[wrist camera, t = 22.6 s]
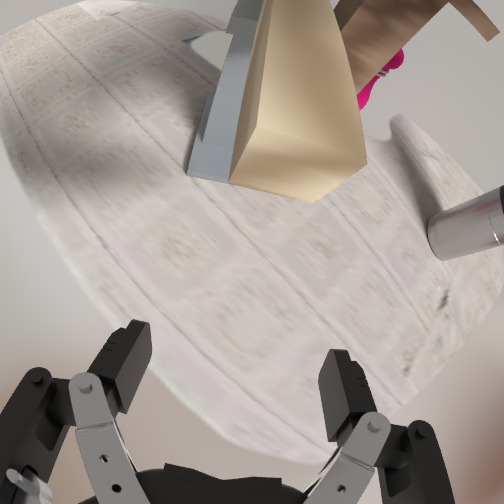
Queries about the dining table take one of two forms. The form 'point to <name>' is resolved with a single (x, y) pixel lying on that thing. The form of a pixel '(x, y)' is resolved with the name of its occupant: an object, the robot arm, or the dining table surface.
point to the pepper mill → (392, 64)
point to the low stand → (225, 99)
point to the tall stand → (392, 29)
